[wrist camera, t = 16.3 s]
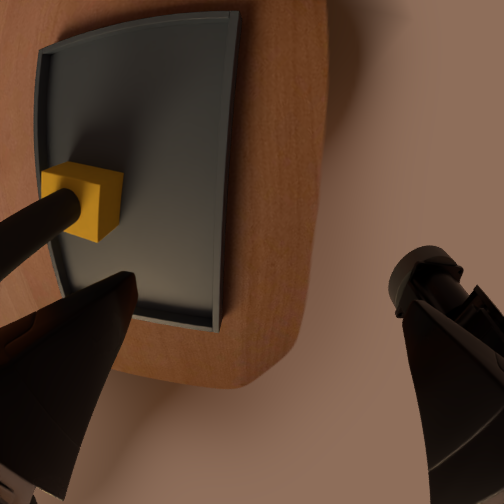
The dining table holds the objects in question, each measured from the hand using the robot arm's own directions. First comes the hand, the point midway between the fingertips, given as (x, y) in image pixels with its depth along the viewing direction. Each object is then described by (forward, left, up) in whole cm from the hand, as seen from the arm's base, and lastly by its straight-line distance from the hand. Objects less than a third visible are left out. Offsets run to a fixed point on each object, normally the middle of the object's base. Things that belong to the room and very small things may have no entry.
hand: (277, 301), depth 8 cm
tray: (+12, 0, -13) cm, 18 cm away
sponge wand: (+15, +1, -12) cm, 19 cm away
